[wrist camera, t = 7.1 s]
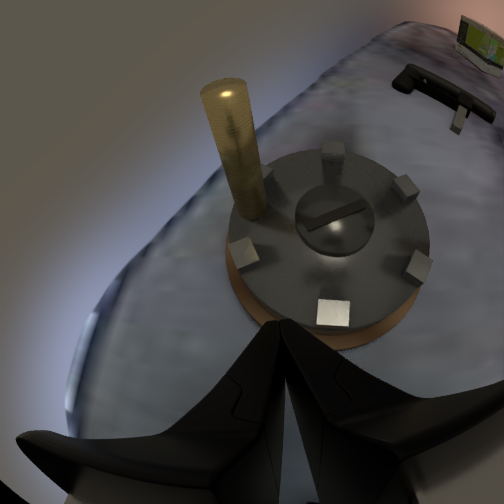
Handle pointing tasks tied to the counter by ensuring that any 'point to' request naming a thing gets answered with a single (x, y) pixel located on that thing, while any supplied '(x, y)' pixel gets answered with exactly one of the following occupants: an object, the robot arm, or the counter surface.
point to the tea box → (481, 46)
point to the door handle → (442, 94)
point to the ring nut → (317, 225)
